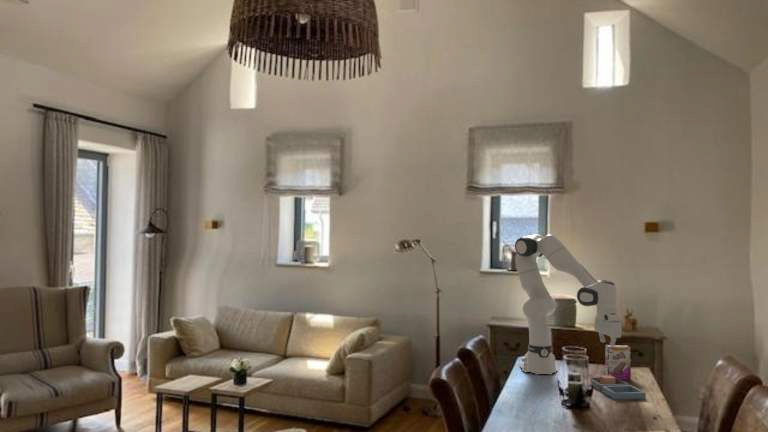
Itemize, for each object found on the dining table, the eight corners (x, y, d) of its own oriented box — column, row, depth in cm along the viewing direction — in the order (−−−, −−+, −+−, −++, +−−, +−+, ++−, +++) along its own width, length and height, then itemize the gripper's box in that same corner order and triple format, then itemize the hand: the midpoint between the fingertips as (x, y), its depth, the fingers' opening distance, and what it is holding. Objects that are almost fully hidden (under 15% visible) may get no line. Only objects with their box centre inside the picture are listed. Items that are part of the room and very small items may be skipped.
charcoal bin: (587, 383, 279) (586, 377, 279) (614, 382, 280) (614, 376, 280) (600, 391, 265) (600, 385, 265) (629, 390, 266) (629, 384, 266)
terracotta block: (600, 386, 275) (600, 375, 275) (610, 385, 275) (610, 375, 275) (605, 389, 270) (605, 378, 270) (615, 388, 270) (615, 377, 270)
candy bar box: (607, 380, 285) (607, 346, 286) (605, 377, 290) (604, 344, 291) (631, 380, 284) (631, 347, 285) (628, 378, 289) (627, 345, 289)
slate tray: (602, 392, 264) (601, 386, 264) (631, 391, 265) (631, 385, 265) (614, 400, 252) (614, 393, 252) (645, 399, 253) (645, 392, 253)
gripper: (590, 311, 283) (591, 340, 283) (610, 318, 263) (611, 348, 263) (603, 311, 284) (603, 339, 284) (624, 317, 264) (624, 348, 263)
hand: (607, 344), depth 273 cm, fingers open, 8 cm apart
